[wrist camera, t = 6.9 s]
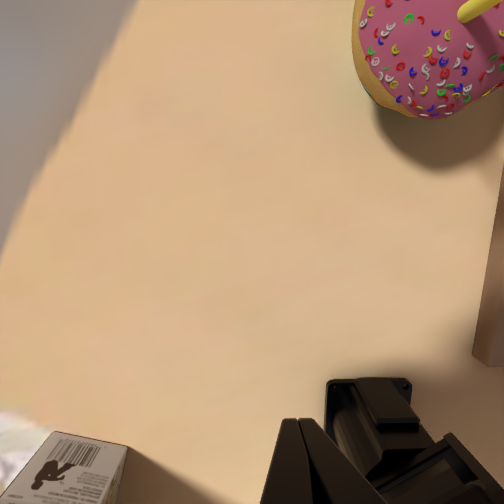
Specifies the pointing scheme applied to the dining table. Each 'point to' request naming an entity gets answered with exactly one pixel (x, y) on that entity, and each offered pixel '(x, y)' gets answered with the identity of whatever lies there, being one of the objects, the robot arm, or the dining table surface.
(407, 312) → the dining table surface
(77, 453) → the coffee box
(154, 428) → the dining table surface
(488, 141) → the dining table surface
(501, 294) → the base
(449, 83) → the cupcake
